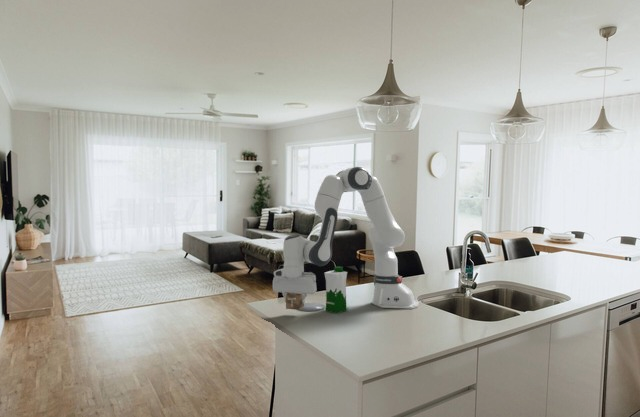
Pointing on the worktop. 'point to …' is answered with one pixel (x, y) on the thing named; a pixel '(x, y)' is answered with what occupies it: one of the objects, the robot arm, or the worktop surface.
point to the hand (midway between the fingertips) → (294, 302)
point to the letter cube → (294, 301)
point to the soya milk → (336, 290)
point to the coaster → (312, 307)
